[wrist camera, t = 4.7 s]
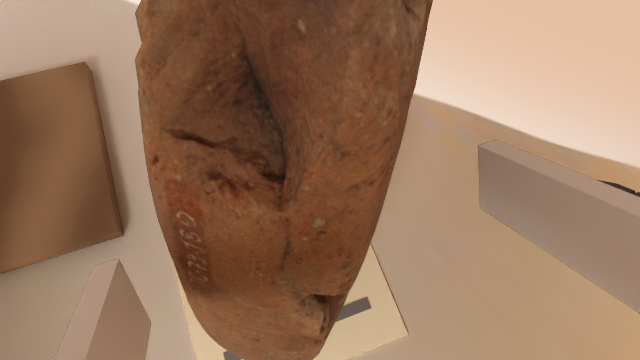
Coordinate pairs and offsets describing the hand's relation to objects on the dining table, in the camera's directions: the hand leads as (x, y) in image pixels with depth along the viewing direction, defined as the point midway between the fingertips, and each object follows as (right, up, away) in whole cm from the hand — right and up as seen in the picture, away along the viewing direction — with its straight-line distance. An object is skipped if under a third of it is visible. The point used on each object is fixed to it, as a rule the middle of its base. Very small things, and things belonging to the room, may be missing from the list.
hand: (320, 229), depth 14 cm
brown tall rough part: (-2, -4, +9) cm, 10 cm away
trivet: (-21, +2, +11) cm, 24 cm away
